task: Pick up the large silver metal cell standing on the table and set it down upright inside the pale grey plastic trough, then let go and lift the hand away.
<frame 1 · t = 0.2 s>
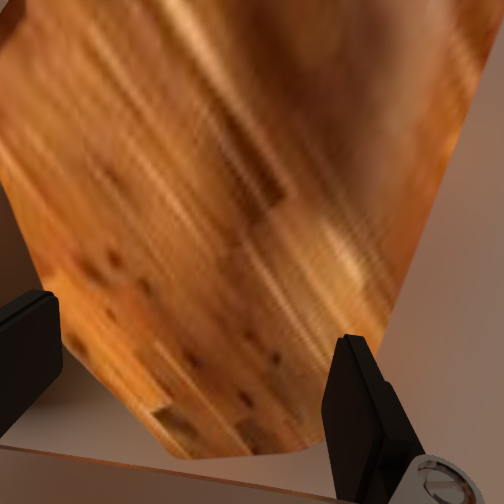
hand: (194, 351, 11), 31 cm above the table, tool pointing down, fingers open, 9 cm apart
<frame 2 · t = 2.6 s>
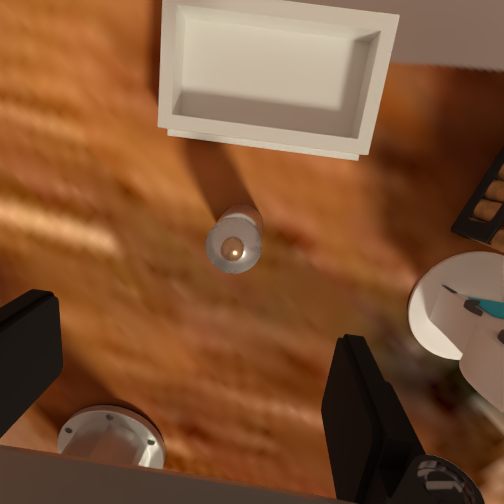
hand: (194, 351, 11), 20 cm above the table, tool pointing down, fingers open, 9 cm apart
metal cell: (241, 225, 30), on the table
ammunition clip: (493, 178, 28), on the table
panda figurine: (470, 306, 32), on the table
trough: (271, 84, 26), on the table
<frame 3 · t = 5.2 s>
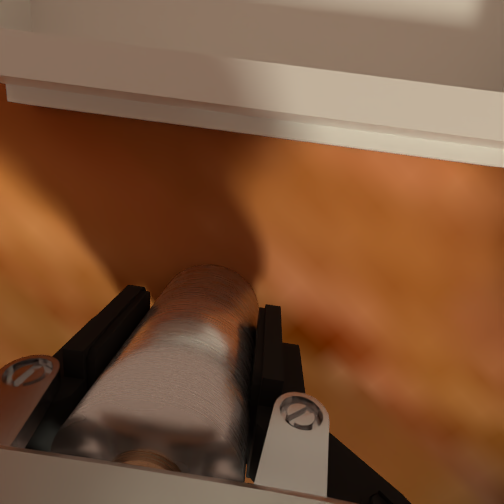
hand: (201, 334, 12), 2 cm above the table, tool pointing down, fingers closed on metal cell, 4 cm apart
metal cell: (210, 309, 13), on the table, touching gripper
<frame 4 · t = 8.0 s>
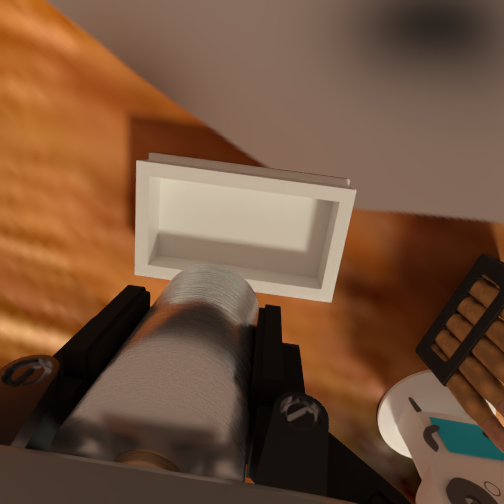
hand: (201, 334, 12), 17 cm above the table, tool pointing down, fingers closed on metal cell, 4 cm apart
metal cell: (210, 309, 13), point 15 cm above the table, touching gripper
ammunition clip: (454, 307, 30), on the table
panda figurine: (436, 414, 33), on the table
trough: (242, 224, 28), on the table
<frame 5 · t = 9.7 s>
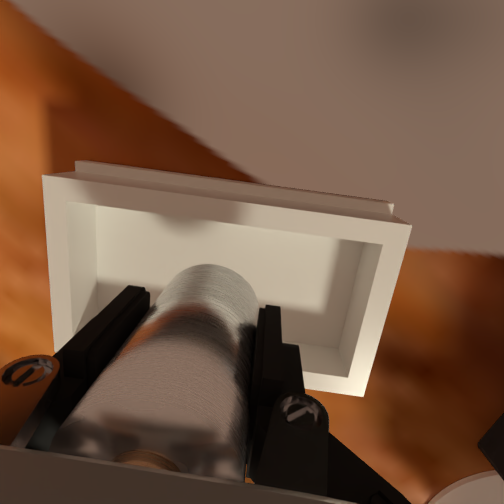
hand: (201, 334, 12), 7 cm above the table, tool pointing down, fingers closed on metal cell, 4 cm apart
metal cell: (210, 309, 13), point 5 cm above the table, touching gripper
trough: (225, 268, 19), on the table
when the fingers open (5 cm above the table, at t = 11.0 s): metal cell drops 2 cm, resting on trough.
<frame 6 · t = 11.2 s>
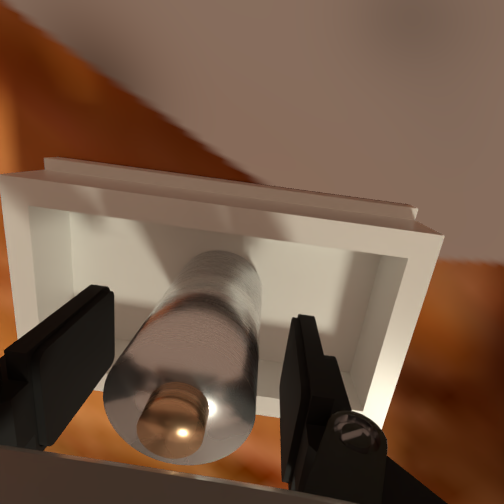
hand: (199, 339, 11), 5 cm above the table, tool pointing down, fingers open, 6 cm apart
metal cell: (219, 290, 15), point 1 cm above the table, touching trough
trough: (221, 281, 16), on the table
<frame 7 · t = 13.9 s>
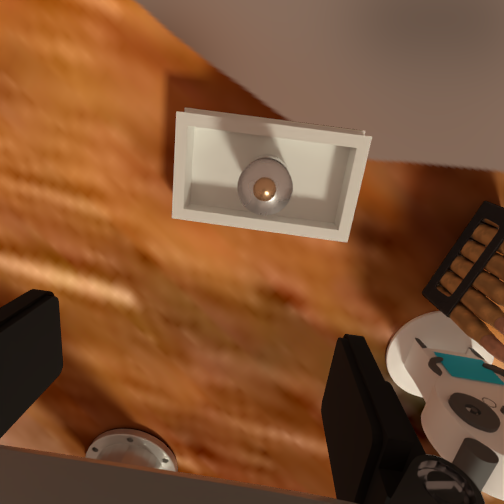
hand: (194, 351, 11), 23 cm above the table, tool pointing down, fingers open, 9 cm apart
metal cell: (267, 177, 30), point 1 cm above the table, touching trough
ammunition clip: (458, 252, 32), on the table
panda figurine: (440, 354, 36), on the table
trough: (266, 175, 31), on the table
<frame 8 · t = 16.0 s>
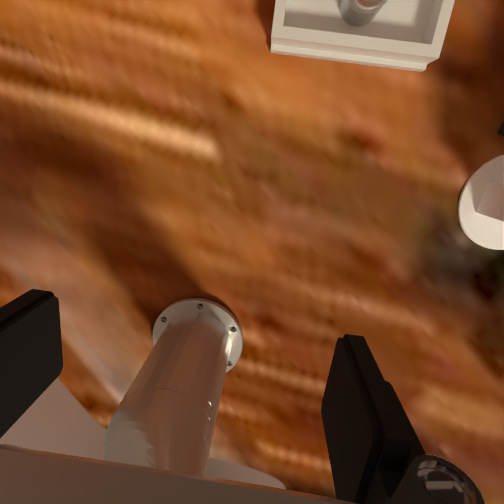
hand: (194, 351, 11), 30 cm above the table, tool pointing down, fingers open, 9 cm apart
metal cell: (359, 2, 32), point 1 cm above the table, touching trough
trough: (356, 6, 33), on the table
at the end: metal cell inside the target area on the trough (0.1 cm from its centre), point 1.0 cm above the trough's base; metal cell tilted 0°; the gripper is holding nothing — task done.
